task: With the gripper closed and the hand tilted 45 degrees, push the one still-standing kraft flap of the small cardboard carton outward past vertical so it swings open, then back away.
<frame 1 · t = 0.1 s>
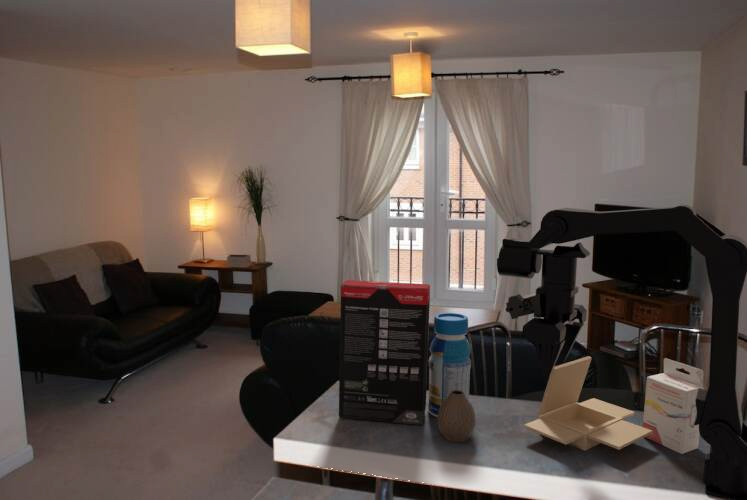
hand: (553, 368, 111), 15 cm above the table, tool pointing down, fingers open, 9 cm apart
ink cartridge box: (669, 443, 116), on the table
beverage bottle: (448, 413, 129), on the table
carton: (579, 432, 120), on the table
vase: (455, 438, 117), on the table
graphics card box: (383, 418, 126), on the table
flap: (565, 385, 122), point 8 cm above the table, hinge at -15.0°
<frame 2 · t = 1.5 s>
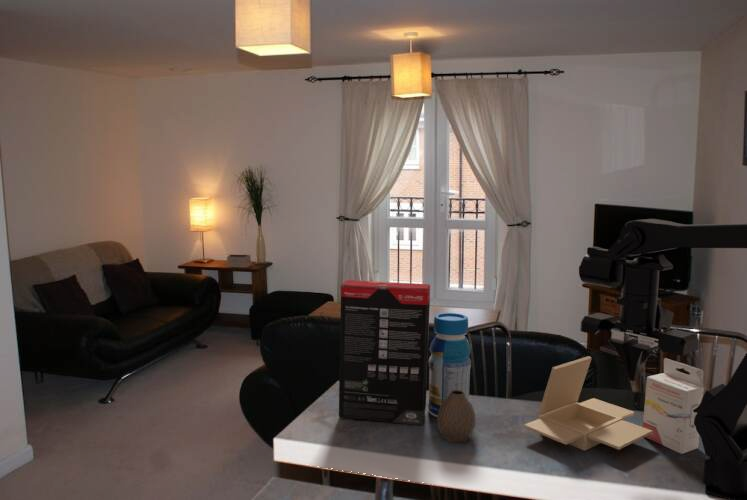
hand: (633, 380, 110), 13 cm above the table, tool pointing down, fingers closed
nothing on the table moved.
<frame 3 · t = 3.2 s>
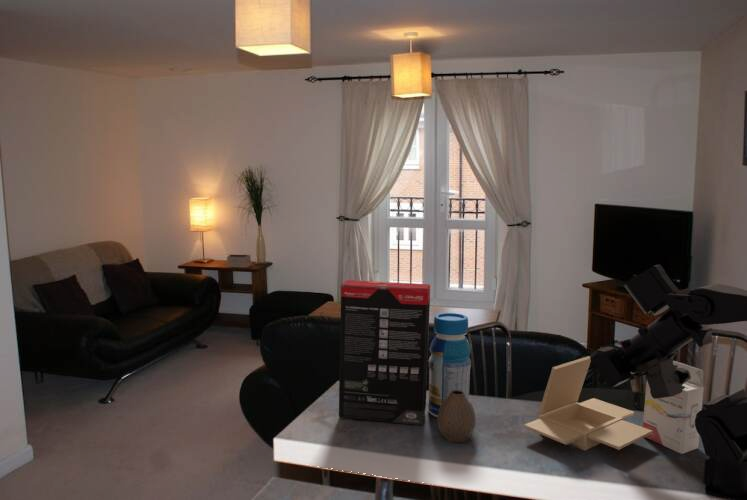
hand: (600, 381, 116), 11 cm above the table, tool tilted 45°, fingers closed
nothing on the table moved.
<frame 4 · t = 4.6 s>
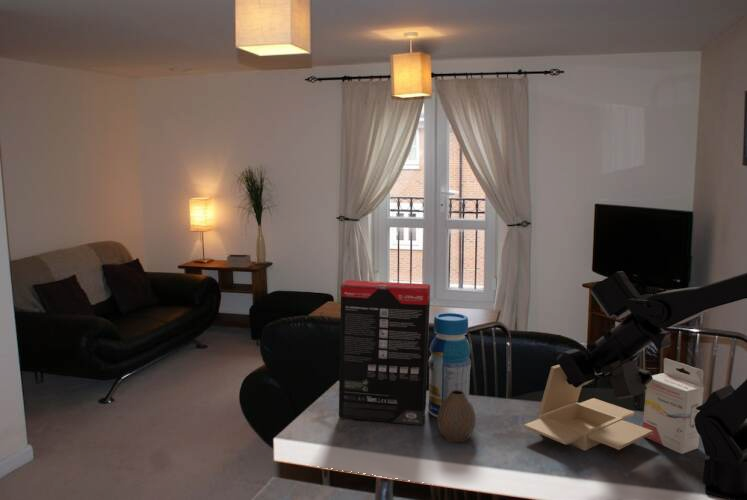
hand: (569, 382, 121), 9 cm above the table, tool tilted 45°, fingers closed, pressing on flap
flap: (564, 384, 122), point 8 cm above the table, hinge at -13.5°, touching gripper
everything else where it was.
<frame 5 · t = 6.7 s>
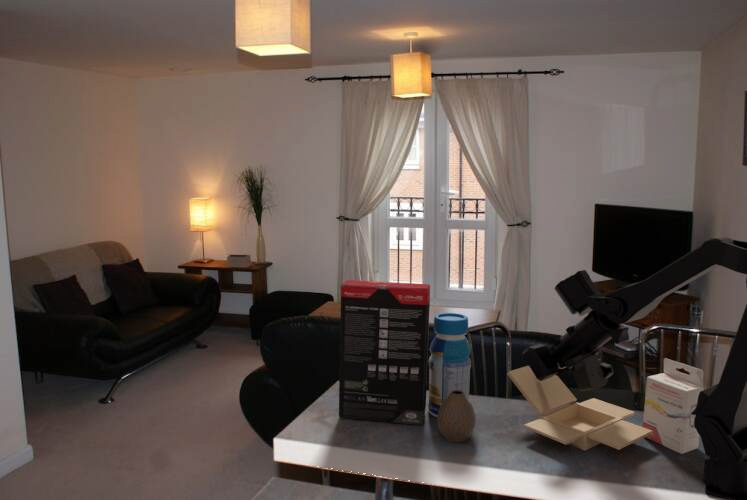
hand: (536, 376, 127), 8 cm above the table, tool tilted 45°, fingers closed
flap: (542, 386, 126), point 6 cm above the table, hinge at 54.0°
everything else where it was.
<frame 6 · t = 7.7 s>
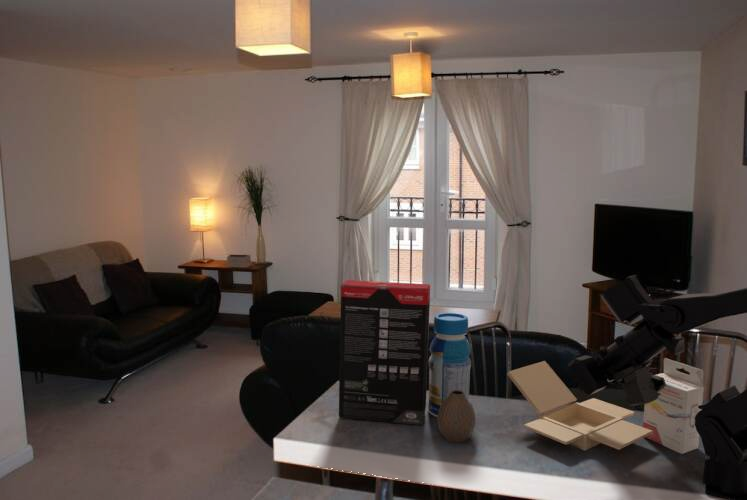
hand: (580, 389, 119), 8 cm above the table, tool tilted 45°, fingers closed
nothing on the table moved.
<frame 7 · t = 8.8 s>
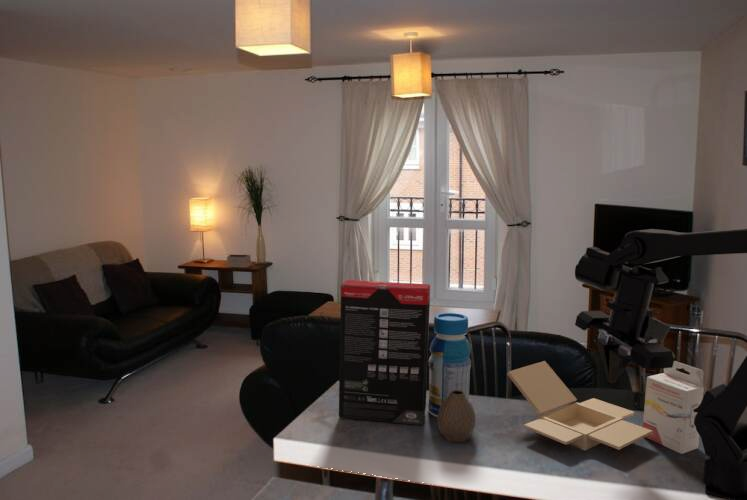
hand: (611, 381, 114), 12 cm above the table, tool pointing down, fingers closed
nothing on the table moved.
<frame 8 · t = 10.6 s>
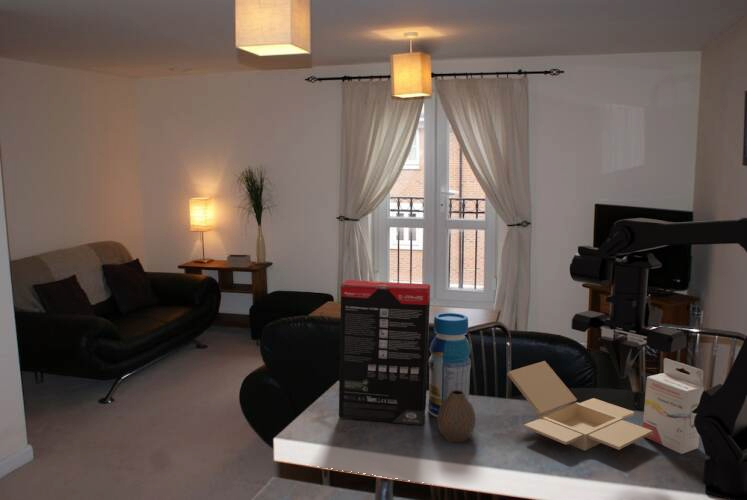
hand: (622, 377, 112), 13 cm above the table, tool pointing down, fingers closed
nothing on the table moved.
at the end: flap at +54° (first picture: -15°); the gripper is holding nothing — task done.
